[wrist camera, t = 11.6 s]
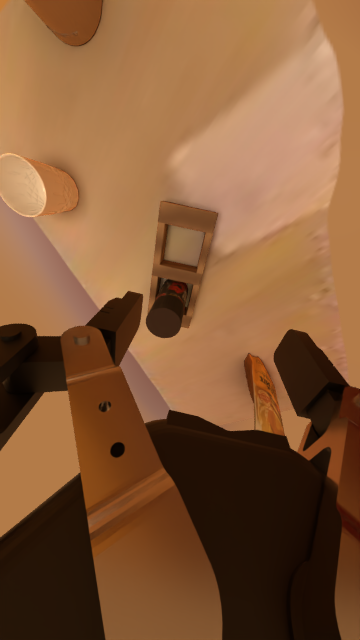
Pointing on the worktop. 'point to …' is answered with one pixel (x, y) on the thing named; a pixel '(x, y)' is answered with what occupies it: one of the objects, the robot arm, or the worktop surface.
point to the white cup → (35, 187)
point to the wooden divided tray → (177, 271)
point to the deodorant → (168, 309)
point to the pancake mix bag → (263, 397)
